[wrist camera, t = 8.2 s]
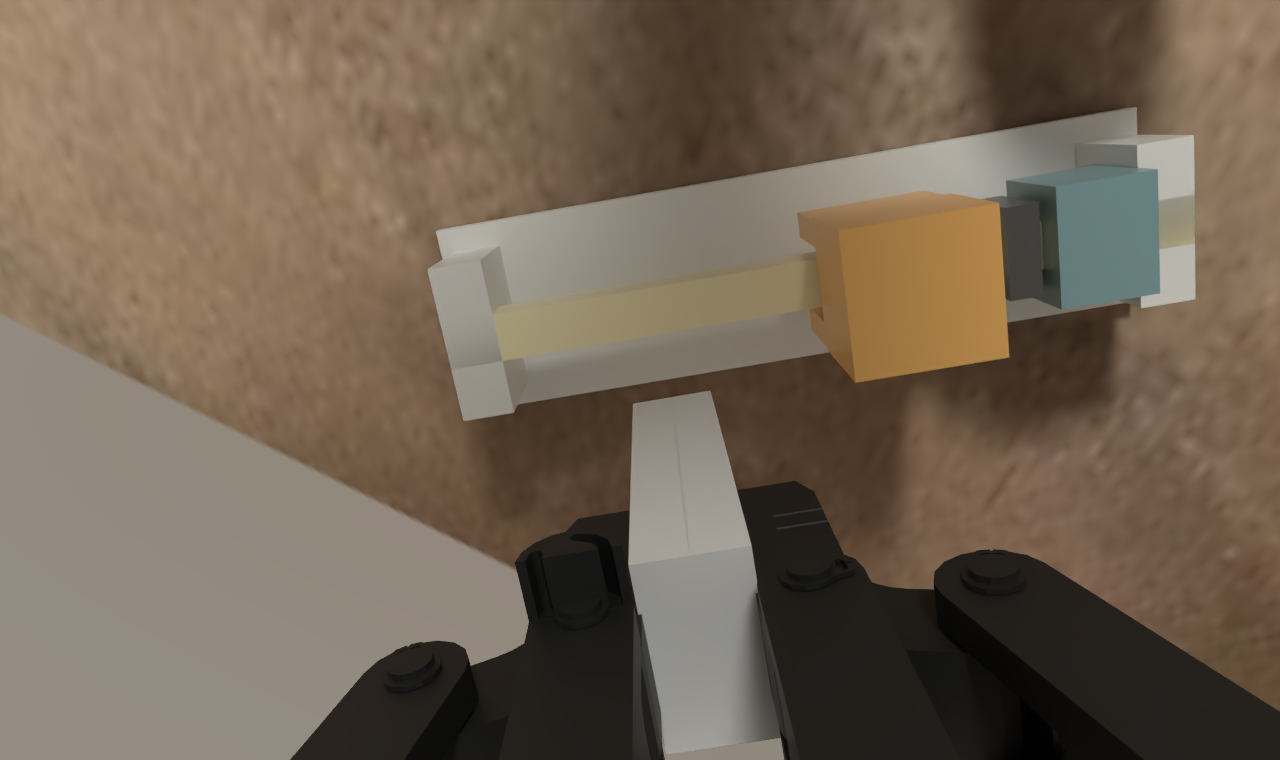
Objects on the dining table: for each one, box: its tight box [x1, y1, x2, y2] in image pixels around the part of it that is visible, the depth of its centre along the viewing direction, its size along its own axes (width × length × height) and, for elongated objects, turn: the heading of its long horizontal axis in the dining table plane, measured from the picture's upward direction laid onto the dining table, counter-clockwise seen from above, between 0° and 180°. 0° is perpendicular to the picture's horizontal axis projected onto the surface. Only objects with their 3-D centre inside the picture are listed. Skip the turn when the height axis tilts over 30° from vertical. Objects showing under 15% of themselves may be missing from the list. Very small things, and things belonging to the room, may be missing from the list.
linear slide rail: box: [427, 107, 1195, 421], centre depth 35 cm, size 8×29×7 cm, turn 100°
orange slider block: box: [797, 190, 1009, 383], centre depth 32 cm, size 5×5×8 cm
